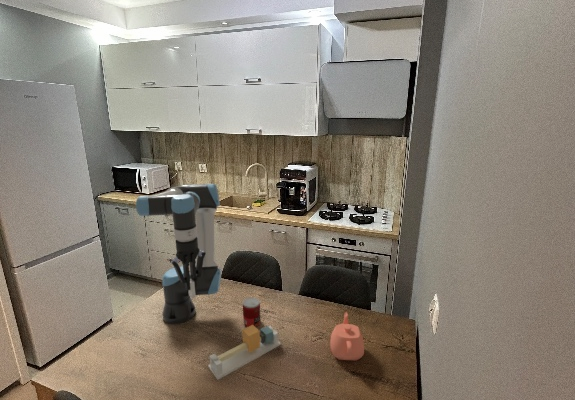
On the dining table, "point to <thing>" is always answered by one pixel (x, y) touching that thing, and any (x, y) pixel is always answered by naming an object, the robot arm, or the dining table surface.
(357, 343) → the teapot
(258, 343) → the orange slider block
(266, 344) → the linear slide rail
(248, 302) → the canned food
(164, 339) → the dining table surface
